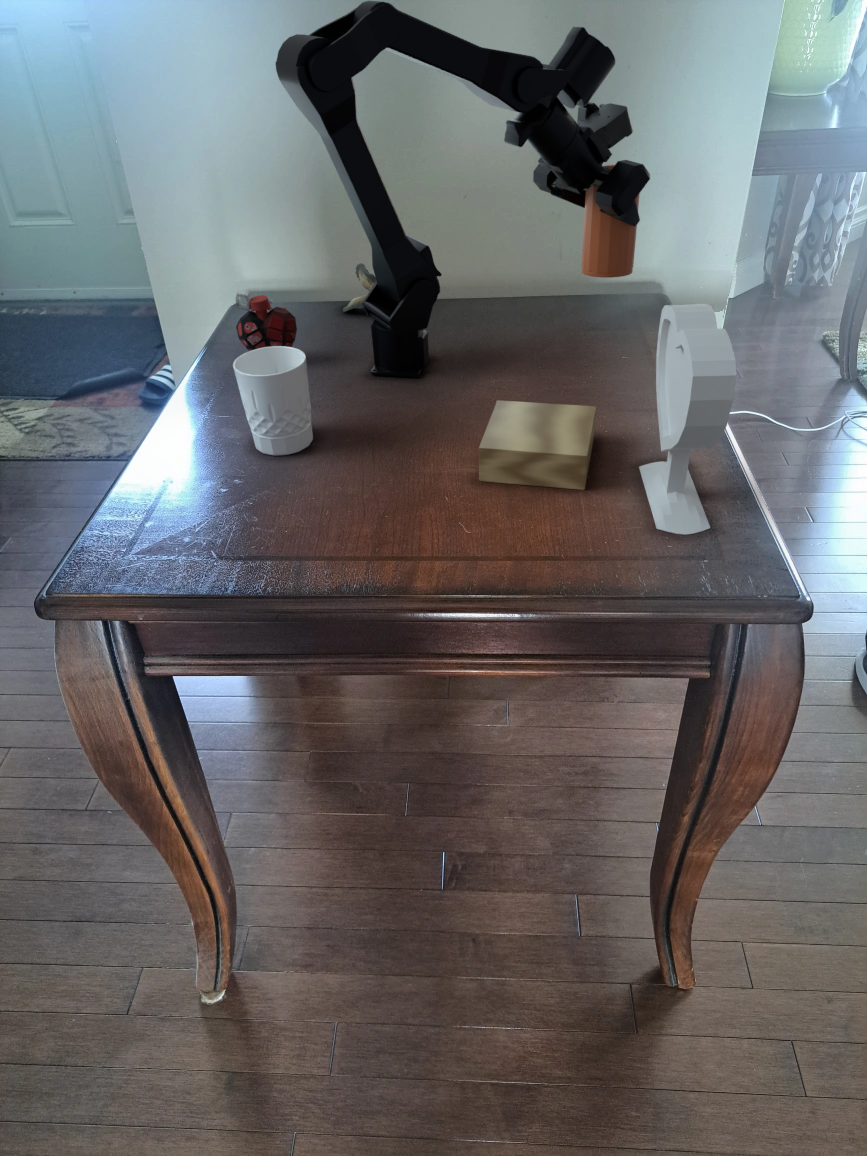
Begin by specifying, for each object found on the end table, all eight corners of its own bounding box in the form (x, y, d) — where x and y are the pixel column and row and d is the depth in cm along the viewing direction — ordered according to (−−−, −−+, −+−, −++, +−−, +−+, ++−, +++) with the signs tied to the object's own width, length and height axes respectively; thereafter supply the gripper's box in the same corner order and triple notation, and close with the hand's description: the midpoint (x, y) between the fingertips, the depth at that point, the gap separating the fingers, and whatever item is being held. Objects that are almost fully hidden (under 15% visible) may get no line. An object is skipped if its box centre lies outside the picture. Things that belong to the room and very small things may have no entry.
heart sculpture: (636, 457, 90) (655, 290, 78) (683, 456, 89) (709, 289, 78) (660, 540, 77) (687, 357, 66) (715, 540, 77) (751, 355, 66)
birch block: (479, 481, 87) (478, 447, 85) (497, 432, 96) (497, 400, 93) (584, 490, 85) (587, 455, 82) (593, 438, 93) (596, 406, 91)
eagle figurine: (410, 295, 130) (360, 279, 132) (402, 265, 123) (350, 248, 125) (389, 334, 128) (338, 317, 130) (380, 306, 121) (327, 289, 123)
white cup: (305, 461, 92) (291, 377, 86) (239, 456, 94) (221, 374, 88) (326, 427, 98) (315, 347, 92) (264, 424, 100) (248, 344, 94)
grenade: (244, 359, 116) (229, 287, 110) (301, 353, 117) (290, 281, 110) (243, 374, 112) (228, 300, 106) (302, 367, 113) (291, 294, 106)
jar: (576, 276, 117) (582, 170, 109) (587, 266, 122) (593, 164, 115) (627, 278, 114) (636, 170, 107) (636, 267, 120) (645, 164, 113)
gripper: (647, 90, 96) (704, 179, 107) (555, 75, 110) (614, 155, 120) (586, 173, 98) (649, 253, 109) (503, 149, 112) (566, 221, 122)
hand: (619, 217), depth 115 cm, fingers closed on jar, 7 cm apart
